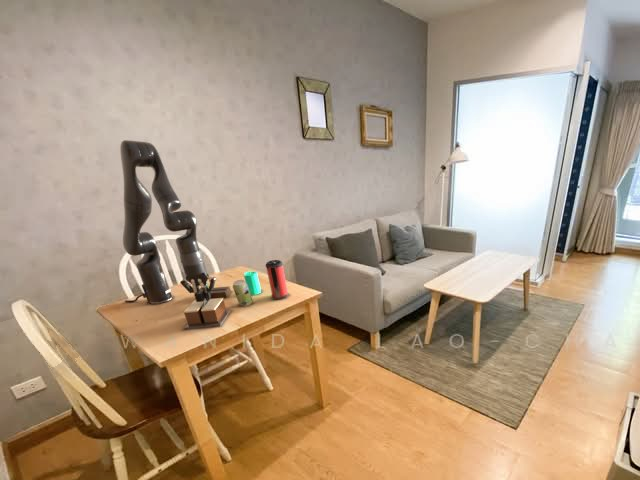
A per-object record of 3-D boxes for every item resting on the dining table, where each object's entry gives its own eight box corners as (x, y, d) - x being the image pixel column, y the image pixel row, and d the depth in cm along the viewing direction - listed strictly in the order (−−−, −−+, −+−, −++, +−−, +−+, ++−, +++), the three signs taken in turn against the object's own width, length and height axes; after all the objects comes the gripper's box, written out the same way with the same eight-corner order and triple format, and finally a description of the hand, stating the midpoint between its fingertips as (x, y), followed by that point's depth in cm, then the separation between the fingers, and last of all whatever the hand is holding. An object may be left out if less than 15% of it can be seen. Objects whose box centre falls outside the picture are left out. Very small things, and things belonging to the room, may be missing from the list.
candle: (248, 291, 170) (242, 269, 165) (260, 289, 172) (255, 267, 167) (248, 295, 165) (243, 273, 160) (261, 293, 167) (256, 271, 162)
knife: (209, 310, 147) (202, 286, 142) (215, 310, 147) (208, 285, 142) (202, 320, 139) (194, 294, 134) (208, 319, 139) (200, 293, 134)
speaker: (290, 297, 163) (284, 262, 155) (274, 301, 159) (267, 265, 151) (285, 292, 168) (279, 258, 161) (270, 295, 164) (263, 261, 157)
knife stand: (203, 299, 162) (201, 294, 161) (208, 293, 169) (207, 288, 168) (226, 297, 164) (225, 292, 162) (231, 291, 170) (229, 286, 169)
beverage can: (255, 300, 159) (249, 277, 154) (249, 307, 153) (243, 283, 148) (242, 301, 159) (236, 278, 154) (235, 308, 153) (229, 284, 148)
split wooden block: (184, 329, 136) (179, 313, 132) (197, 313, 148) (193, 299, 145) (220, 326, 138) (216, 310, 134) (230, 311, 150) (226, 296, 147)
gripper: (214, 257, 137) (224, 295, 145) (178, 260, 135) (190, 298, 143) (207, 263, 130) (219, 302, 138) (169, 266, 129) (183, 306, 136)
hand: (204, 300), depth 140 cm, fingers closed on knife, 2 cm apart
